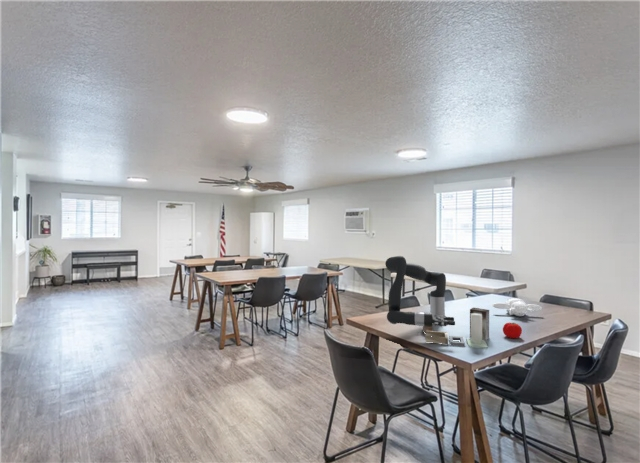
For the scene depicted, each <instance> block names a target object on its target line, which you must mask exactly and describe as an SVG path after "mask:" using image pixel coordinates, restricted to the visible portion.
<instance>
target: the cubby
mask: <svg viewBox="0 0 640 463" xmlns="http://www.w3.org/2000/svg"><path fill="white" fill-rule="evenodd" d="M431 336H432V337H431ZM426 342H433V343H442V344H448V345H449V338H448V332H447V331H438V330H437V331H436V330H435V331H434V330H433V331H426V334H425V343H426Z"/></svg>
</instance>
